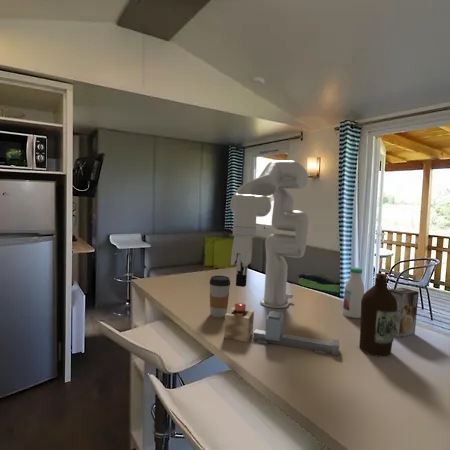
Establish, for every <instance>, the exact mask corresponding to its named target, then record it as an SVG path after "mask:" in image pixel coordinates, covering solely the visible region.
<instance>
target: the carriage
mask: <svg viewBox="0 0 450 450" xmlns="http://www.w3.org/2000/svg"><path fill="white" fill-rule="evenodd" d="M283 327H284V313H283V312H280V311H275V310H270V311H269V313H268V315H267V317H266V321H265V331H266V333H265V336H266V339H271V340H277V341H279V340H280V335H281V334H283Z"/></svg>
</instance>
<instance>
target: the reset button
mask: <svg viewBox="0 0 450 450" xmlns="http://www.w3.org/2000/svg"><path fill="white" fill-rule="evenodd" d="M234 308H235V312H236V313H237V315H241V316H243V313H245V309H246V308H247V307H246V304H245V302H244V303H242V302H236V303H234Z"/></svg>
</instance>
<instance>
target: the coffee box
mask: <svg viewBox="0 0 450 450" xmlns="http://www.w3.org/2000/svg"><path fill="white" fill-rule="evenodd" d="M388 289H389V288H388ZM389 291H390V292H391V293H392V294H393V295H394V297H395V298H396V301H397V314H396V320H395V327H394V333H393V336H394V335H395V336H394V337H397V336H398V337H397V338H402V337H401V336H403V337H406V336H405V335H407V336H411V335H416V334H415V333H416V323H417V315H418V314H417V313H418V303H419V291H417V290H415V289H414V290H412V289H410V288H407V287H406V288H405V287H398V288H390V289H389Z"/></svg>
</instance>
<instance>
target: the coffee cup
mask: <svg viewBox="0 0 450 450" xmlns="http://www.w3.org/2000/svg"><path fill="white" fill-rule="evenodd" d="M230 285H231V280H230V277H229V276H226V275H213V276H211V277H210V279H209V307H210V312H209V313H210V315H211V317H213V318H225V314H226V313H227V312H228V306H229V295H230V288H231V287H230Z"/></svg>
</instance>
